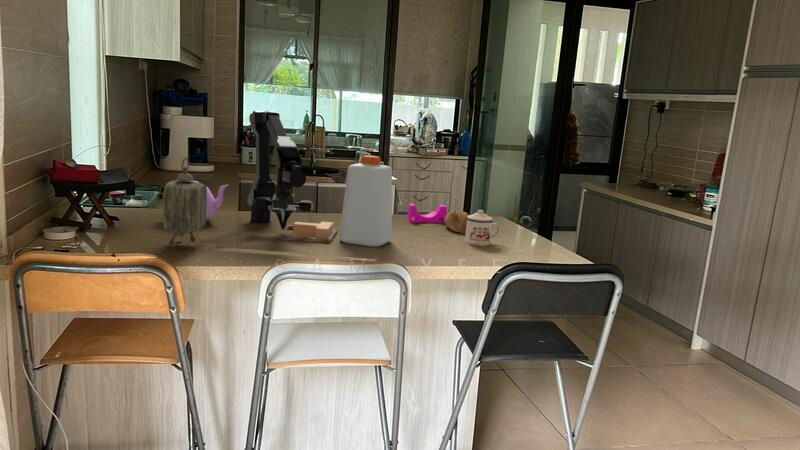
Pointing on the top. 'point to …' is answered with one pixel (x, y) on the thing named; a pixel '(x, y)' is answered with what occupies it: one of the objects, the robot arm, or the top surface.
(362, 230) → the plastic bottle
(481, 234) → the teacup with lid
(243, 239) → the top surface
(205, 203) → the tabletop clock
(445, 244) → the top surface
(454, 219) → the bread roll
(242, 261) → the top surface
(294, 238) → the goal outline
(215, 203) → the teapot
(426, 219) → the toy block
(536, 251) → the top surface
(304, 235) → the t puck
